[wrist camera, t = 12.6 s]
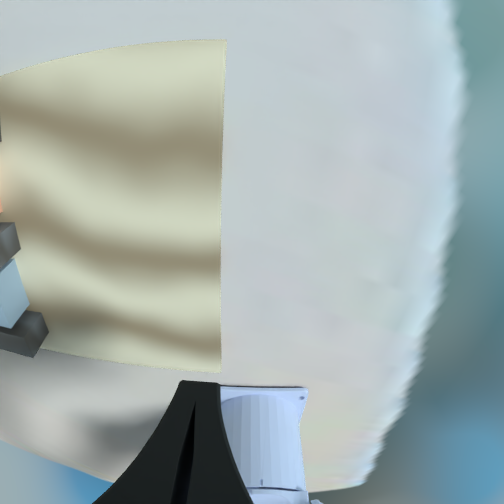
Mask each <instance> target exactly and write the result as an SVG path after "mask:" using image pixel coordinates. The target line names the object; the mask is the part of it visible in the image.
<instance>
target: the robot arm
mask: <svg viewBox="0 0 504 504" xmlns="http://www.w3.org/2000/svg"><path fill="white" fill-rule="evenodd" d="M307 397H308V389H306V388H250V387H225V386H220V384H218V383H213V382H199V381H186V380H182V381H180V383H179V385H178V388H177V390H176V392H175V395H174V397H173V399H172V401H171V403H170V405H169V407H168V409H167V410H166V412H165V414H164V416H163V417H162V419H161V421H160V423H159V424H158V426H157V428H156V429H155V431H154V433H153V434H152V436H151V437H150V439H149V440H148V441H147V443H146V444H145V446H144V447H143V449H142V450H141V452H140V453H139V454H138V456H137V457H136V458H135V460H134V461H133V462H132V463H131V464H130V466H129V467H128V468H127V469H126V470H125V472H124V473H123V474H122V475H121V476H120V477H119V478H118V479H117V480H116V482H115V483H114V484H113V485H112V486H111V487H110V488H109V489H108V490H107V491H106V492H104V493H103V494H102V495H101V496H100V497H99V498H98V499H97V500H96V501H95V502H93V503H92V504H309V498H308V491H306V485H305V475H304V466H303V456H302V447H301V438H300V429H299V423H300V420H301V416H302V413H303V410H304V407H305V404H306V400H307ZM311 504H323V503H320V501H319V500H311Z"/></svg>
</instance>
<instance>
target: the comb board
mask: <svg viewBox="0 0 504 504" xmlns="http://www.w3.org/2000/svg"><path fill="white" fill-rule="evenodd" d="M226 47H227V40H222V39H218V40H182V41H167V42H155V43H145V44H136V45H128V46H121V47H114V48H108V49H102V50H96V51H91V52H86V53H81V54H76V55H72V56H67V57H63V58H59V59H55V60H51V61H47V62H44V63H40V64H36V65H33V66H30V67H26V68H23V69H20V70H17V71H14V72H11V73H8V74H5V75H2V76H0V200H1V205H2V210H3V212H1V213H0V268H1V267H2V266H3V265H5V264H6V263H7V262H8V261H9V260H10V259H11V258H13V259H15V261H16V265H17V268H18V271H19V274H20V277H21V281H22V284H23V287H24V289H25V292H26V295H27V298H28V301H29V303H30V305H29V306H28V307H27V308H26V310H25V311H24V312H23V314H22V315H21V316H20V317H19V319H18V320H17V321H16V323H15V324H14V325H13V327H12V328H7V327H2V326H0V349H3V350H7V351H10V352H14V353H17V354H21V355H25V356H29V357H32V358H34V356H35V354H36V353H37V351H38V349H39V348H41V349H46V350H50V351H55V352H60V353H65V354H70V355H75V356H80V357H86V358H92V359H97V360H104V361H110V362H116V363H123V364H131V365H138V366H146V367H155V368H164V369H174V370H185V371H198V372H212V373H221V292H220V259H221V179H222V141H223V112H224V87H225V66H226Z"/></svg>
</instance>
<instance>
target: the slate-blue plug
mask: <svg viewBox="0 0 504 504" xmlns="http://www.w3.org/2000/svg"><path fill="white" fill-rule="evenodd" d="M29 305H30V303H29V301H28V298H27V295H26V292H25V289H24V287H23V284H22V281H21V277H20V274H19V271H18V268H17V265H16V261H15V259H13V258H11V259H10V260H9V261H8V262H7V263H6V264H5V265H3V266H2V267H1V268H0V326H2V327H7V328H12V327H13V325H14V324H15V323H16V321H17V320H18V319H19V317H20V316H21V315H22V314H23V312H24V311H25V310H26V308H27V307H28V306H29Z"/></svg>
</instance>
